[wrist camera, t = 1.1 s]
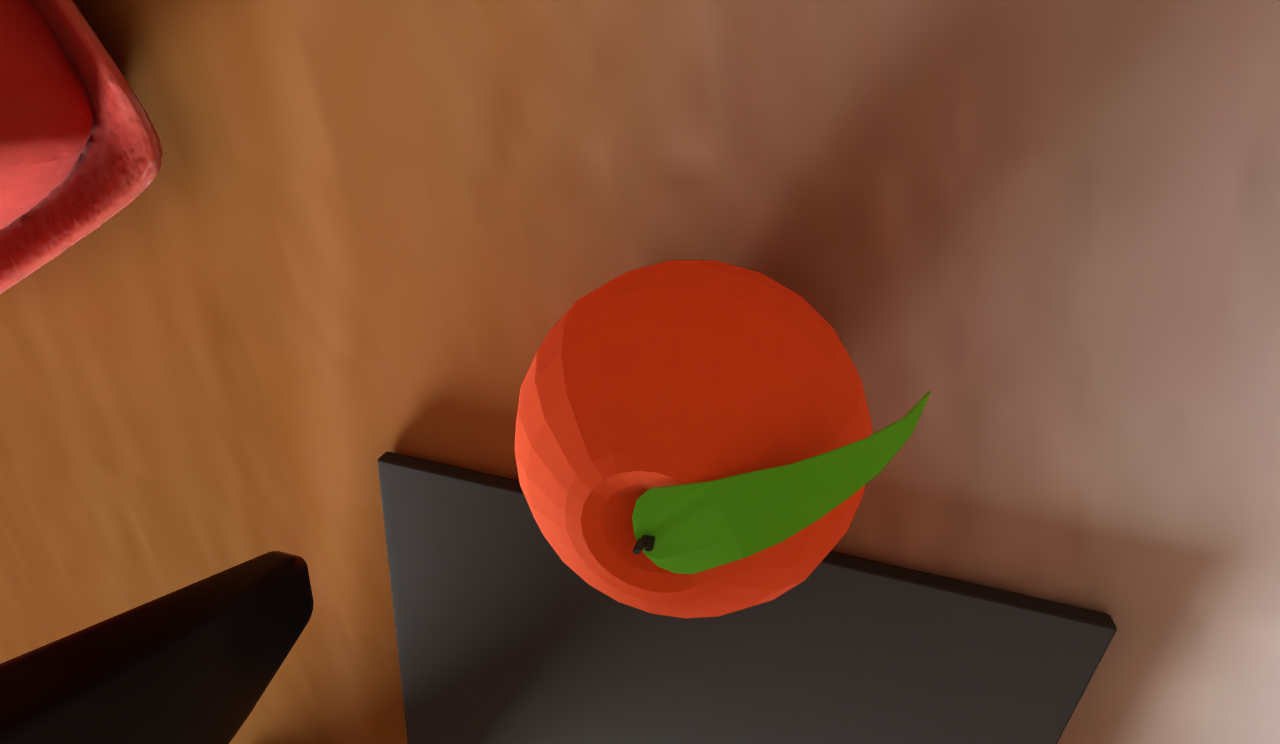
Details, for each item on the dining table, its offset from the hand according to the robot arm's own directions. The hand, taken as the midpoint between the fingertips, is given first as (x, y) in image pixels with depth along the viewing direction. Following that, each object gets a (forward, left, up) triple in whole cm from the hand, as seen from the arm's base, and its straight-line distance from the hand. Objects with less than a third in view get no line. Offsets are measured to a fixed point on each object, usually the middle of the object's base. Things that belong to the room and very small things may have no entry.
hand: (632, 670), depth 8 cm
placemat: (0, -11, -10) cm, 15 cm away
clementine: (0, 0, -10) cm, 10 cm away
